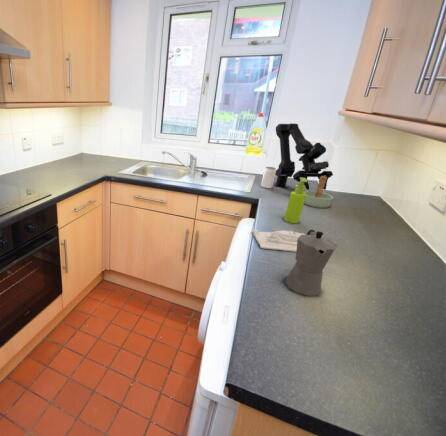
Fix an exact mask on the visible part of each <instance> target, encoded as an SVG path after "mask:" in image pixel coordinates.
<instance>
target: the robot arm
mask: <svg viewBox="0 0 446 436" xmlns="http://www.w3.org/2000/svg"><path fill="white" fill-rule="evenodd" d="M275 134H276V136H277V138H278V139H279V146H280V148H279V150H280V163H279V164H278V168H276V174H275V177H277V178H276V181H275V182H274V186H275V187H279V188H287V182H288V179H289V178H293V181H296V182H298V184H299V183H300V180H301V179H300V177H302V178H306V179H307V182H304V185H305V186H306V187H305V189H306V191H310V184H309V181H308V178H317V179H318V182H319V181H320V178H321V176H325V177H327V179H326V182H325V185H324V188H323V191H325V190H327V186H328V185H327V184H328V180H329V179H330V178H332V177H333V176H334V174H333V171H332V170H326V169H327V168H329V166H330V163H329V161H328V160H326V161H325V160H324V161H322V162H321V161H320V162H319V161H318V162H316V161H315V160H317V159H319V158H320V157H321V156H323V155H324V154H325V153H326V152H327V147H325V146H324V145H323V144H322V143H321V142H315V143H314V144H312V143H311V141H309V140H307V139H306V138H305V136H304V133H302V131H301V129H300V127H299V124H298V123H293V122H291V123H278V124H277V125H276V126H275ZM290 137H292V139H293V141H294V144H295V147H294V148H295V151H296V154H298V155H300V157H299V158H298V162H301V164H302V166H303V167H302V168H301V169H302V170H301V169H300V170H297V171H296V163H295V161H292V159H291V148H290V147H291V145H290ZM322 170H323V171H322ZM295 171H296V172H295Z"/></svg>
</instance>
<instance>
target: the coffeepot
mask: <svg viewBox="0 0 446 436" xmlns="http://www.w3.org/2000/svg"><path fill="white" fill-rule="evenodd" d="M323 235H324V232H323V231H315V230H314V229H309V230H308V232H307V234H305V235H301V236H300V237H299V238H298V241H297V250H296V252H295V260H296V261H295V263H294V265H293V266H292V268H291V270H290V272H289V273H288V276H287V277H286V280H285V281H284V283H285V285H286V286H287V287H288V288H289V289H290V290H291V291H293V292H295V293H296V294H299V295H303V296H308V297H314V296H318V295H319V294H320V292H321V289H322V282H323V273H324V272H323V270H324V269H325V267H326V265H327V264H328V262H329V260H330V258H331V256H332V255H333V253H334V251H335V250H336V248H337V247H338V245H337V244H336V243H335V242H333V241H332V240H330V239H329V238H326V237H323Z"/></svg>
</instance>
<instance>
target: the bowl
mask: <svg viewBox="0 0 446 436" xmlns="http://www.w3.org/2000/svg"><path fill="white" fill-rule="evenodd" d="M316 191H317V190H306V191H305V190H304V193H305V194H307V195H306V199H305V202H304V205H306V206H308V207H313V208H318V209H319V208H320V209H327V208H329V207H331V206H332V203H333V200H334V196H333V195H331V194H328V193H325V192H322V194H321V197H322V198H323V199H321V198H316V197H312V196H315V194H316Z"/></svg>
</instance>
